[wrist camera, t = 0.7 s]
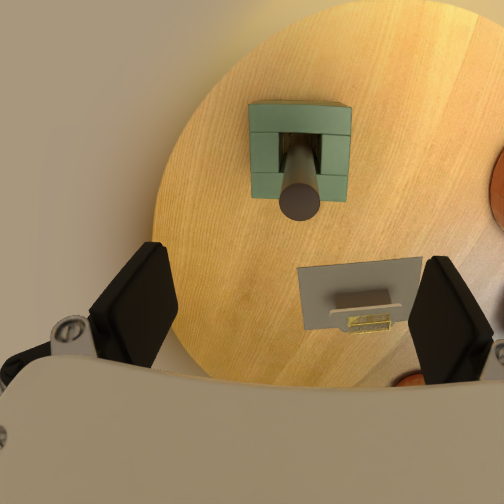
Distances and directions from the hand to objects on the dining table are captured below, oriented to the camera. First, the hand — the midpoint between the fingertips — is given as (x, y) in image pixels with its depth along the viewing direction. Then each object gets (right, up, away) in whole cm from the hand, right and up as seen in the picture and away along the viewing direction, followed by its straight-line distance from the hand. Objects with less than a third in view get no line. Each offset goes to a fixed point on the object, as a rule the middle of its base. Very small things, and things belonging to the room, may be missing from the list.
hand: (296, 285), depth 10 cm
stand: (+4, +14, +23) cm, 27 cm away
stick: (+4, +14, +23) cm, 27 cm away
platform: (+15, -5, +33) cm, 36 cm away
